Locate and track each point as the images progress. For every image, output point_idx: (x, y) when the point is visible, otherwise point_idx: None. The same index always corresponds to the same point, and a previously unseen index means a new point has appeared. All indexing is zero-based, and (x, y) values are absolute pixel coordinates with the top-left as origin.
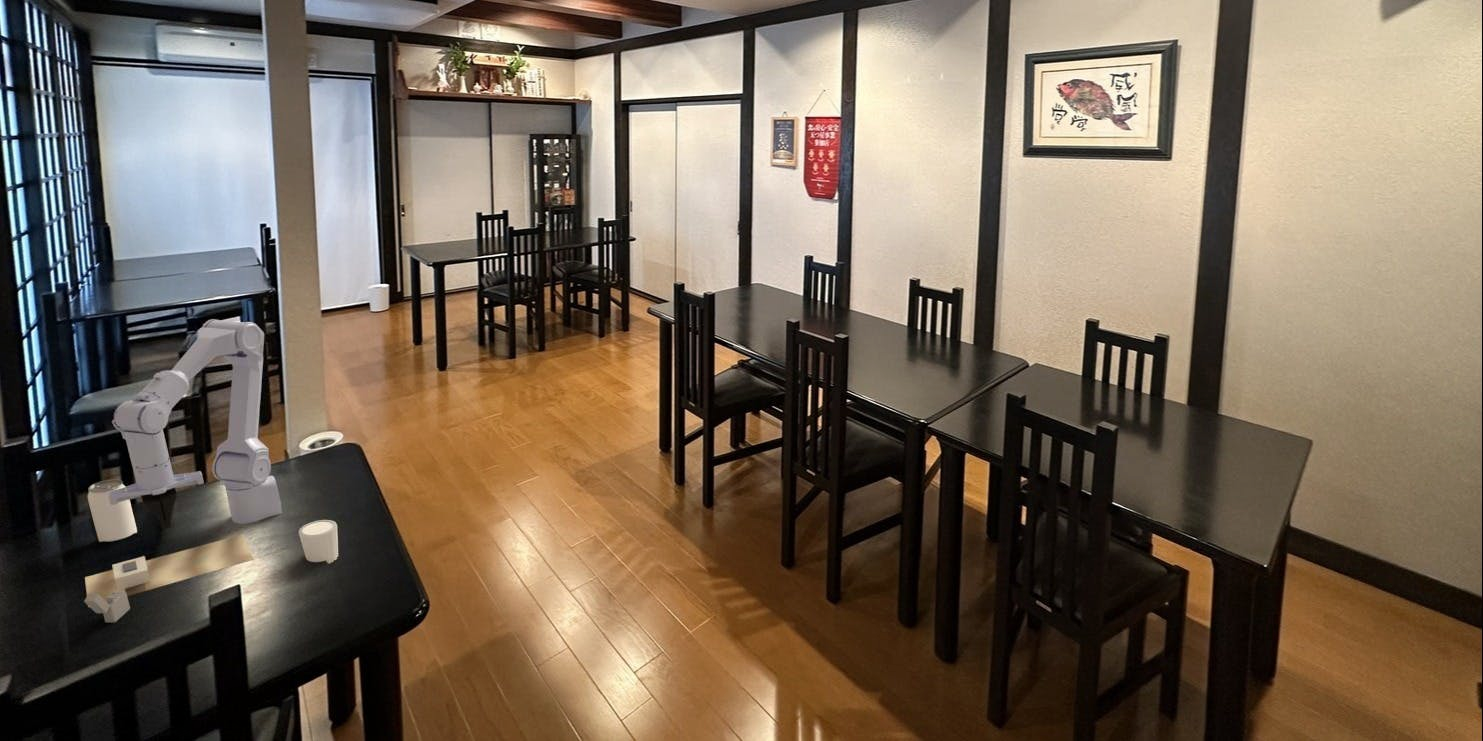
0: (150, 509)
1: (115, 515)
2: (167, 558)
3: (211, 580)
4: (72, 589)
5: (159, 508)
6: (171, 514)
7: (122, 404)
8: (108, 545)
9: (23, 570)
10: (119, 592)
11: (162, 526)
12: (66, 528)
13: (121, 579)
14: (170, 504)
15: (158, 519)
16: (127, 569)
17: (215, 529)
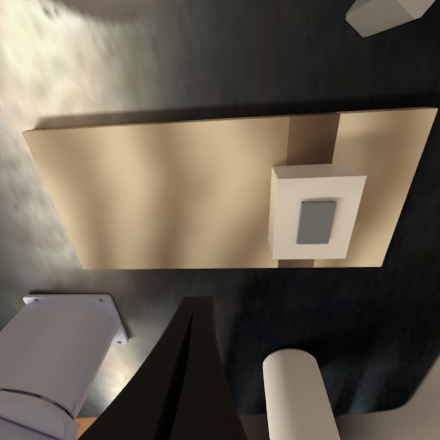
0: (238, 429)
1: (300, 412)
2: (226, 253)
3: (132, 98)
4: (405, 244)
5: (185, 414)
6: (153, 349)
7: None
8: (306, 349)
9: (432, 343)
10: (408, 13)
11: (208, 305)
12: (340, 406)
13: (346, 174)
14: (111, 425)
15: (213, 339)
16: (325, 206)
17: (146, 316)
